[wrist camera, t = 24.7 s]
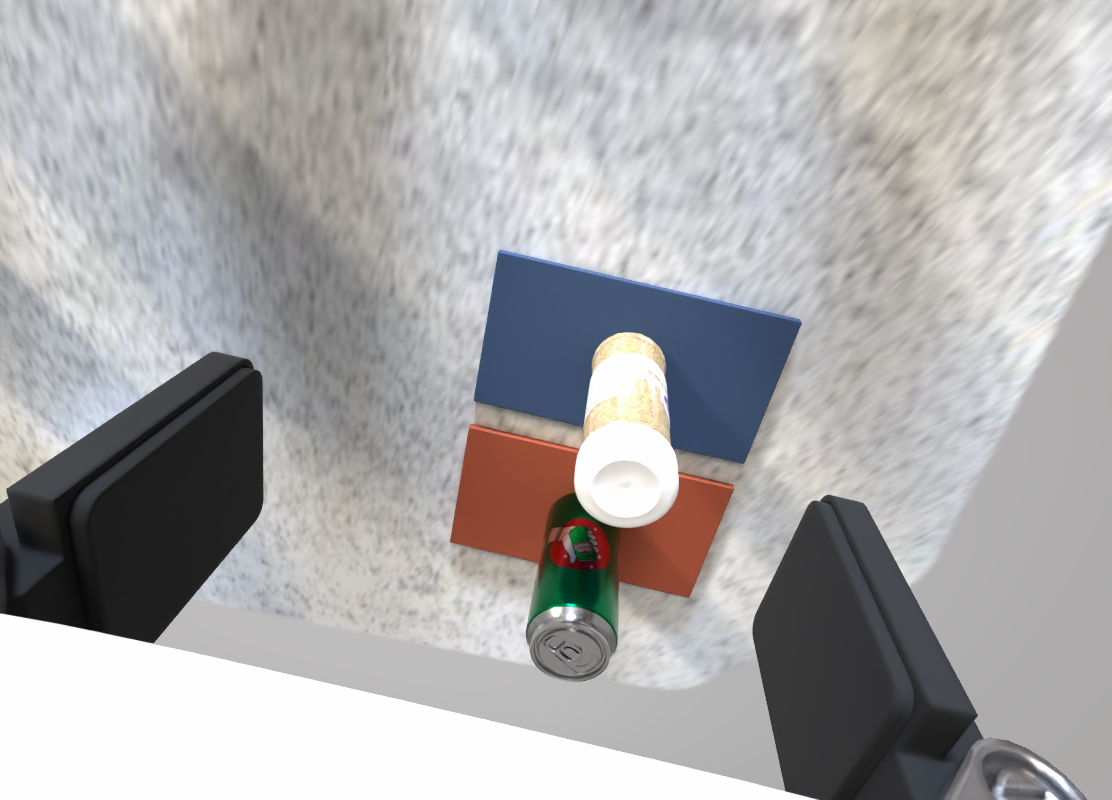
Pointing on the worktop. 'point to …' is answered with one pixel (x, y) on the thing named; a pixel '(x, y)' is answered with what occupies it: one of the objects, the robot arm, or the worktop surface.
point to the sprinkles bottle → (627, 436)
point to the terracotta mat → (548, 474)
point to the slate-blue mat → (628, 306)
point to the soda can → (575, 594)
